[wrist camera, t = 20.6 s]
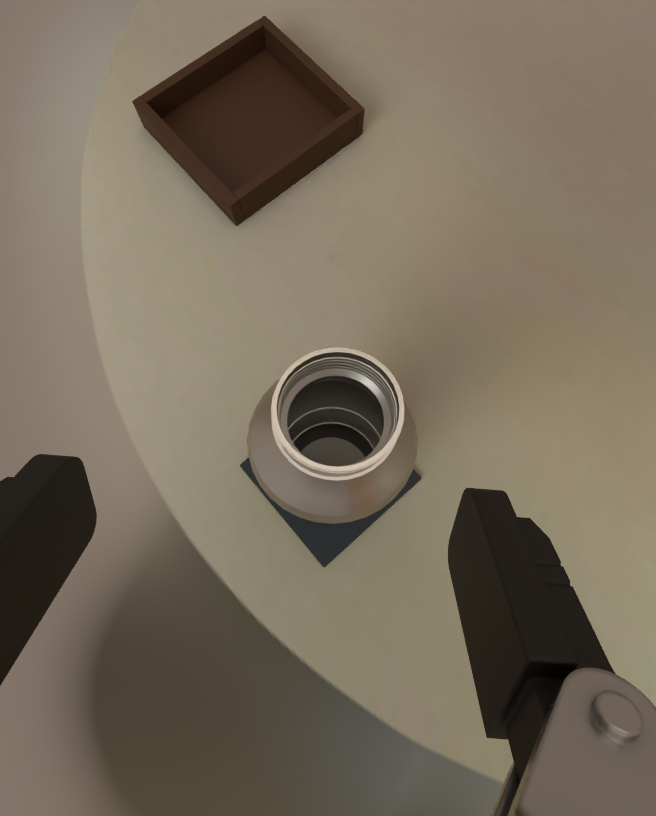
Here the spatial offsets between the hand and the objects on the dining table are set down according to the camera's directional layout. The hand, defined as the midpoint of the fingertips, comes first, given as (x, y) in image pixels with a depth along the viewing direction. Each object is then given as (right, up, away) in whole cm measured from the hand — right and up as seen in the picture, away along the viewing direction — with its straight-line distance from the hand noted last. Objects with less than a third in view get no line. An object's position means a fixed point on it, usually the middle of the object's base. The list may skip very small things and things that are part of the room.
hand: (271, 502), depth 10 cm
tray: (-5, +26, +29) cm, 39 cm away
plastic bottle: (+1, -3, +22) cm, 23 cm away
